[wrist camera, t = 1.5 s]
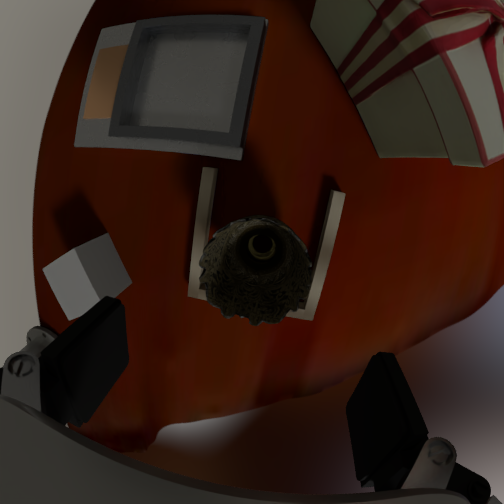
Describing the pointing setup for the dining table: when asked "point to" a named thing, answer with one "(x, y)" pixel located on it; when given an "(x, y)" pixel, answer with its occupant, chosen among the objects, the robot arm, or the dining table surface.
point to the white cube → (87, 276)
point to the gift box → (422, 73)
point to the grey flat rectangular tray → (174, 85)
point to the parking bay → (321, 259)
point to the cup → (256, 270)
